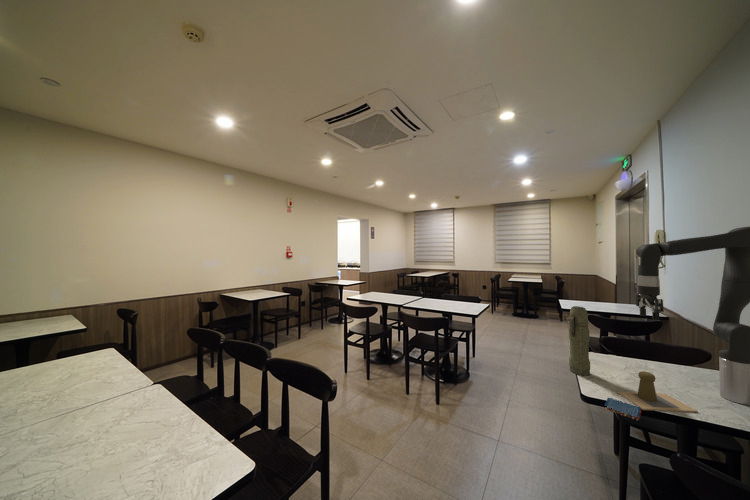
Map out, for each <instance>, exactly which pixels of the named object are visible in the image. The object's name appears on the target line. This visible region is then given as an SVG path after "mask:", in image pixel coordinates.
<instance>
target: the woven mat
mask: <svg viewBox="0 0 750 500" xmlns="http://www.w3.org/2000/svg"><path fill="white" fill-rule="evenodd" d="M604 406H607V407H603V409H604V410H606V411H608V410H609V412H613V413H616V414H620V416H624V417H628V418H631V419H632V420H634V419H635V420H636V421H639V420H640V419H641V416H642V415H641V414H642V409H641V408H640V407H638V406H636V405H635V404H632V403H628V402H624V401H621V400H619V399H614V398H613V397H607V399H606V401H605V403H604ZM611 408H612V409H611Z"/></svg>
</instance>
